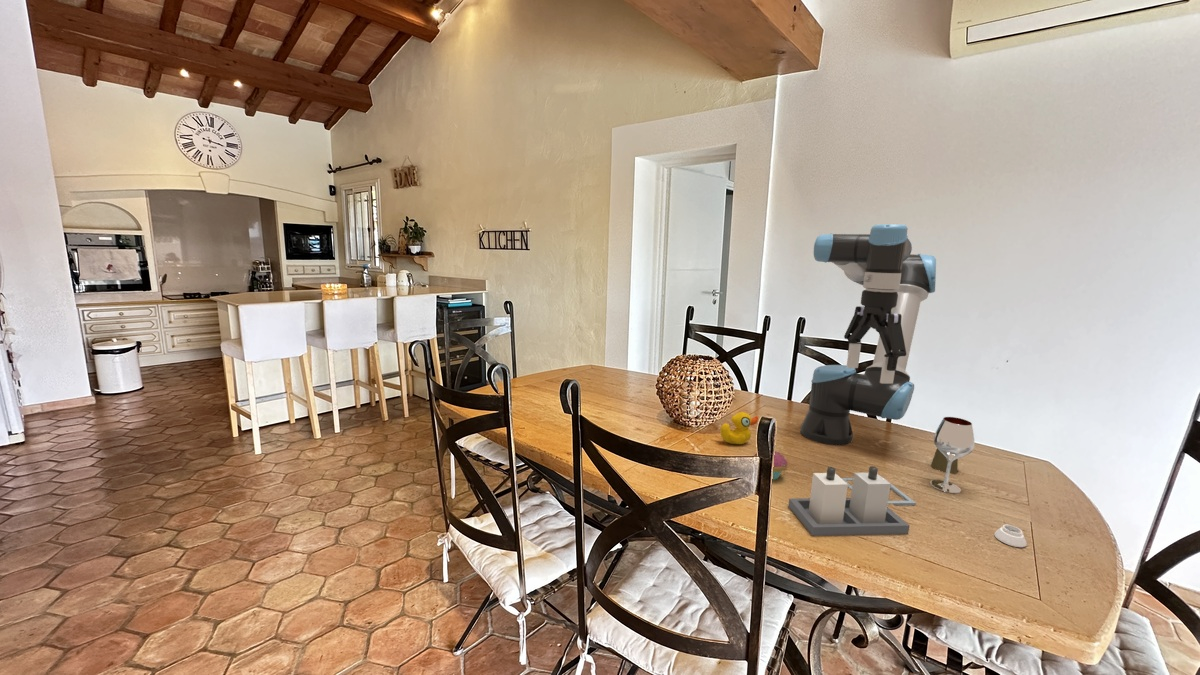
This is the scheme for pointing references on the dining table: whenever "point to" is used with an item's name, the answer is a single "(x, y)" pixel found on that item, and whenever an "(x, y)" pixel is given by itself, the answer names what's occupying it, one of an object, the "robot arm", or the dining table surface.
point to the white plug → (827, 497)
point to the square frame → (905, 497)
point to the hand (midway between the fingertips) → (868, 375)
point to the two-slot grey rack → (847, 522)
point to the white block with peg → (869, 497)
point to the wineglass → (952, 447)
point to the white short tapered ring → (1011, 536)
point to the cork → (943, 463)
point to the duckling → (738, 428)
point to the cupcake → (778, 464)
